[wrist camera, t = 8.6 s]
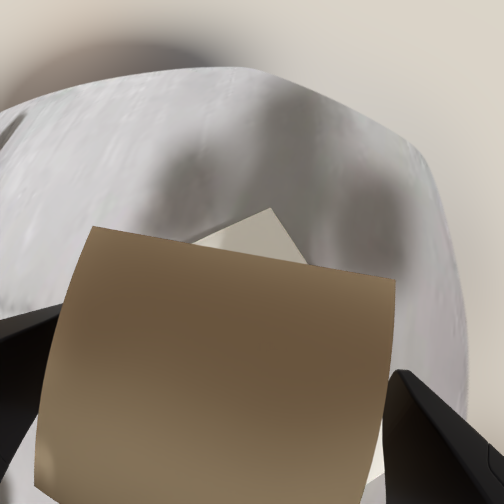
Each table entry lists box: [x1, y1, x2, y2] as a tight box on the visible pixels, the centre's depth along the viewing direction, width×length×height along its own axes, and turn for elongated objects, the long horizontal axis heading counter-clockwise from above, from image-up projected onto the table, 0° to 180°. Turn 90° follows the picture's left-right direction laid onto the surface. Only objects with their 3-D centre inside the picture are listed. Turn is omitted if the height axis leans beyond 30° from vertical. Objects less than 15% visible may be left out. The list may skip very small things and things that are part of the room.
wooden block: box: [34, 226, 395, 504], centre depth 9 cm, size 6×6×11 cm
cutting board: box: [192, 207, 385, 484], centre depth 14 cm, size 18×14×1 cm
